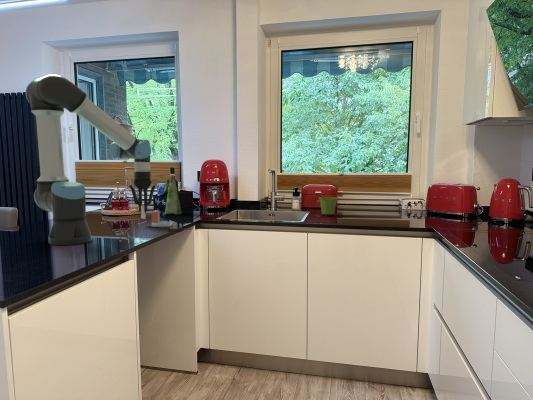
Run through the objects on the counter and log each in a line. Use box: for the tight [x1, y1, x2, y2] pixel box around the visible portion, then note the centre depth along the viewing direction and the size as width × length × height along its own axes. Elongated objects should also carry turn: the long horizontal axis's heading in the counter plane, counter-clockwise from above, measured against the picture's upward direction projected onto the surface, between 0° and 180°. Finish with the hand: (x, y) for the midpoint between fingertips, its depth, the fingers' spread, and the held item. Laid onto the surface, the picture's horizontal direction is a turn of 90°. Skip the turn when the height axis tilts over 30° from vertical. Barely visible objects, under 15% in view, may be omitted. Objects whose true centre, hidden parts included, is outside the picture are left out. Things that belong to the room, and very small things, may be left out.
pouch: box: [164, 173, 182, 215], centre depth 235 cm, size 11×12×25 cm
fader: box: [150, 210, 161, 223], centre depth 191 cm, size 5×3×5 cm, turn 5°
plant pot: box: [318, 196, 339, 215], centre depth 237 cm, size 12×12×11 cm
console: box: [151, 220, 173, 228], centre depth 192 cm, size 5×9×2 cm, turn 95°
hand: (143, 218), depth 191 cm, fingers closed
